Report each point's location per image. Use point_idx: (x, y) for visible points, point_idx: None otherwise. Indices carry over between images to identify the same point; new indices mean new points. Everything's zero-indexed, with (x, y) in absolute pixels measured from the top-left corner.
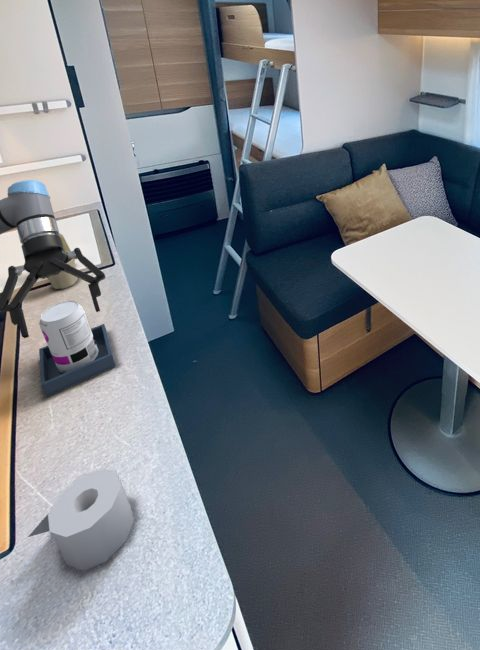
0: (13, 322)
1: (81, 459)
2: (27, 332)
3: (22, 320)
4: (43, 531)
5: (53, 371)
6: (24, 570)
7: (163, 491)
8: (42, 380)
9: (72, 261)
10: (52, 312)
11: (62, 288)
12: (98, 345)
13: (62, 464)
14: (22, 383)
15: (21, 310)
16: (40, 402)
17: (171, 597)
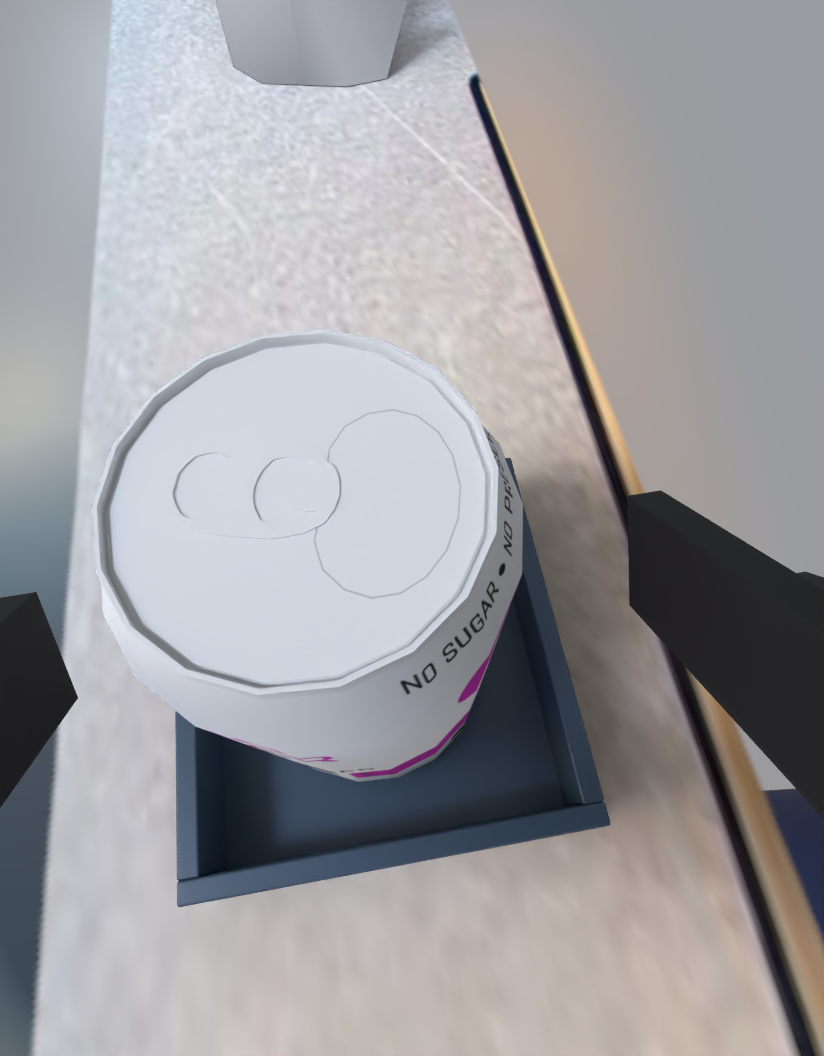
0: (814, 578)
1: (342, 199)
2: (645, 599)
3: (709, 549)
4: (397, 22)
5: (499, 652)
6: (437, 42)
7: (160, 66)
8: None
9: None
10: (378, 510)
11: None
12: (270, 765)
13: (393, 206)
14: (647, 660)
15: (808, 719)
16: (519, 482)
17: None
